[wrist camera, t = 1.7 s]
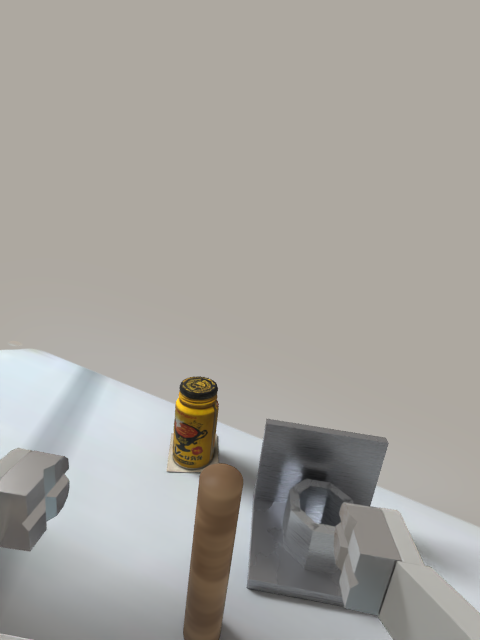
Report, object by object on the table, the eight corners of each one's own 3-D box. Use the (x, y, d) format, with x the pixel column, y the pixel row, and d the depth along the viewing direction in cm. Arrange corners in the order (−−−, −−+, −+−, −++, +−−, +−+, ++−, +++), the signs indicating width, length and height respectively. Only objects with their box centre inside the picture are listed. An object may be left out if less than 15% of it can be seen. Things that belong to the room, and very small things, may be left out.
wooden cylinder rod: (179, 617, 29) (193, 468, 25) (213, 603, 31) (232, 459, 26) (189, 660, 27) (208, 501, 22) (226, 643, 28) (250, 490, 24)
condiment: (166, 472, 46) (171, 395, 42) (171, 434, 54) (176, 366, 50) (219, 473, 47) (228, 397, 43) (216, 435, 55) (224, 369, 51)
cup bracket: (392, 615, 32) (427, 516, 28) (246, 588, 32) (264, 488, 29) (360, 511, 43) (382, 432, 40) (253, 493, 44) (266, 414, 41)
